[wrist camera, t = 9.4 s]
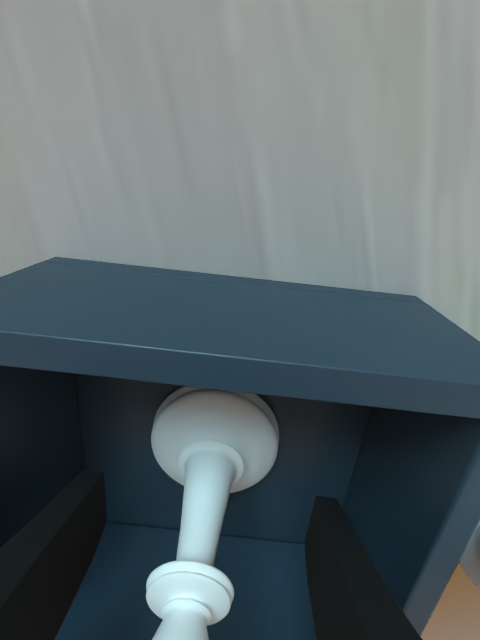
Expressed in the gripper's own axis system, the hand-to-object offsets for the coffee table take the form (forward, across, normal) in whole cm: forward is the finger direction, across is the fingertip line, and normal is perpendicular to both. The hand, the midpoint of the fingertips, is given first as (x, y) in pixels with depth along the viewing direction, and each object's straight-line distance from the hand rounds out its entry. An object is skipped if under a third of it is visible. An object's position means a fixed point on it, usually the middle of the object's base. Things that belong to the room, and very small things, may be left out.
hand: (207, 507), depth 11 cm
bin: (+4, 0, 0) cm, 4 cm away
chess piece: (+3, 0, 0) cm, 3 cm away
